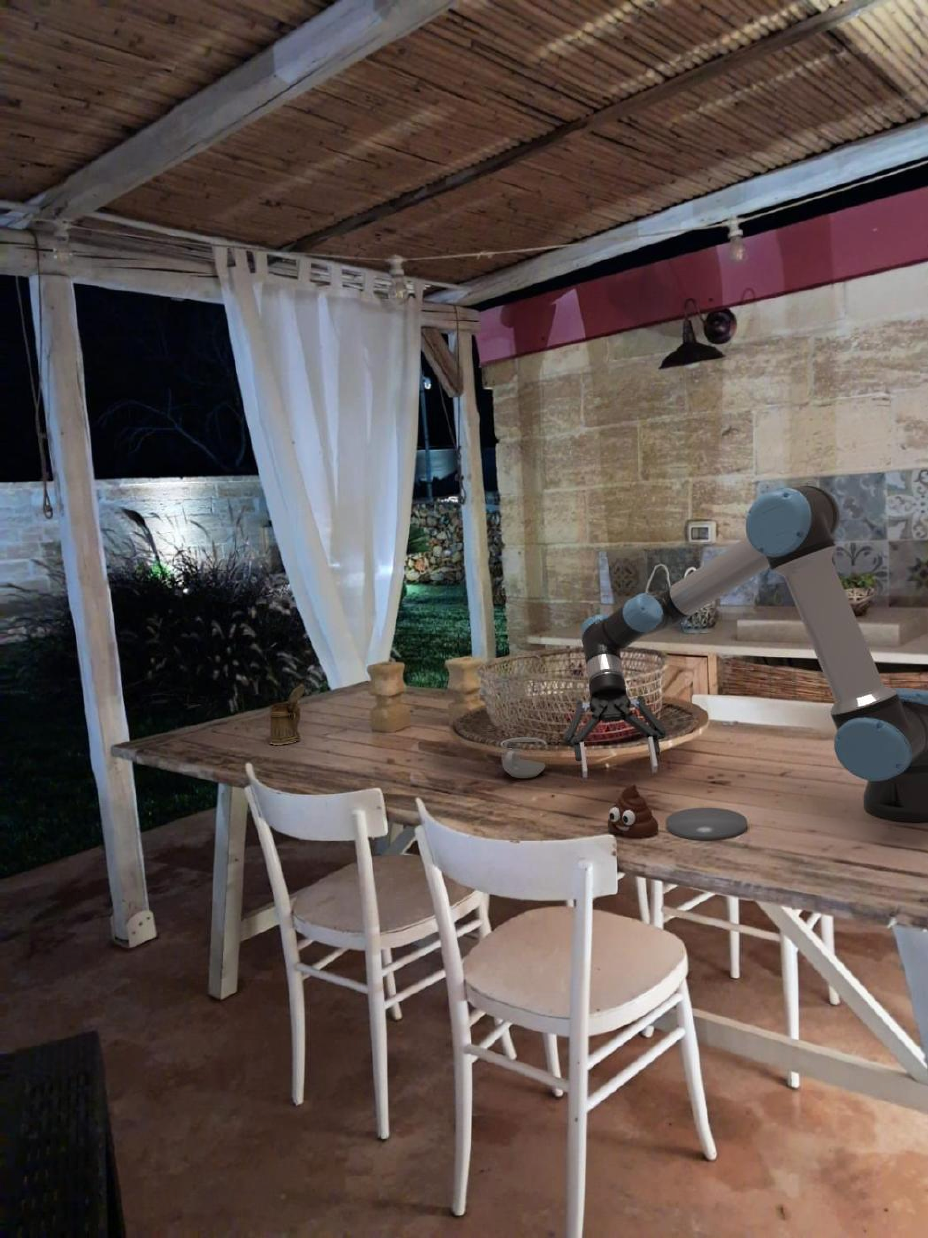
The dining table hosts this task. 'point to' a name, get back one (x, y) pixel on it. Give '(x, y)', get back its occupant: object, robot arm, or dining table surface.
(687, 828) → the charcoal plate
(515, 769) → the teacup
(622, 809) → the poop emoji
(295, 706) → the wooden mug
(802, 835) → the dining table surface
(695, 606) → the robot arm
